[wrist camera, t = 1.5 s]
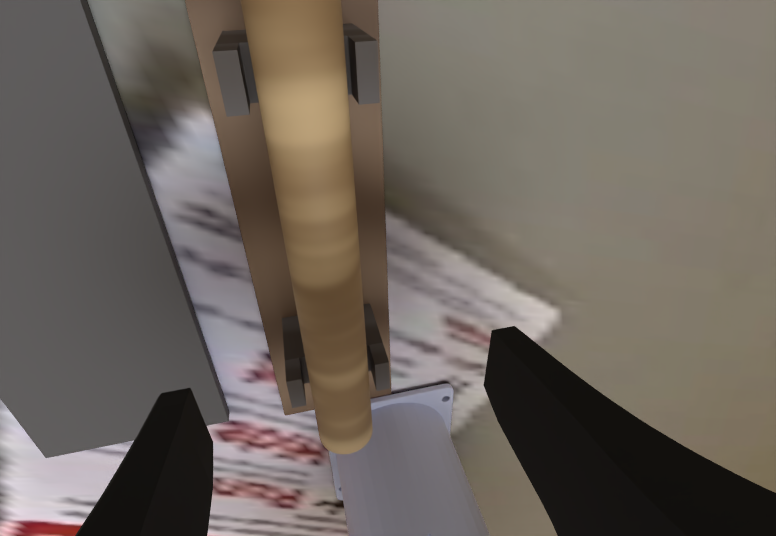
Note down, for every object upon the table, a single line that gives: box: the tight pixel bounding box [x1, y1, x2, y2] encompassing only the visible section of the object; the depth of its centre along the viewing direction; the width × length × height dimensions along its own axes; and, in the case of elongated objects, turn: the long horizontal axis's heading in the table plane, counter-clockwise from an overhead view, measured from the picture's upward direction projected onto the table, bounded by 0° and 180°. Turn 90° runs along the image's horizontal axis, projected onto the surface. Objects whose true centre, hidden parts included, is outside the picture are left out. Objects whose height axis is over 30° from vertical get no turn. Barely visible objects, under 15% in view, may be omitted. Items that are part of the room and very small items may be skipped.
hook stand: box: [185, 0, 391, 415], centre depth 18 cm, size 24×6×5 cm, turn 2°
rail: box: [240, 0, 373, 454], centre depth 16 cm, size 18×2×2 cm, turn 2°
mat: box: [0, 0, 229, 458], centre depth 18 cm, size 24×9×1 cm, turn 2°
